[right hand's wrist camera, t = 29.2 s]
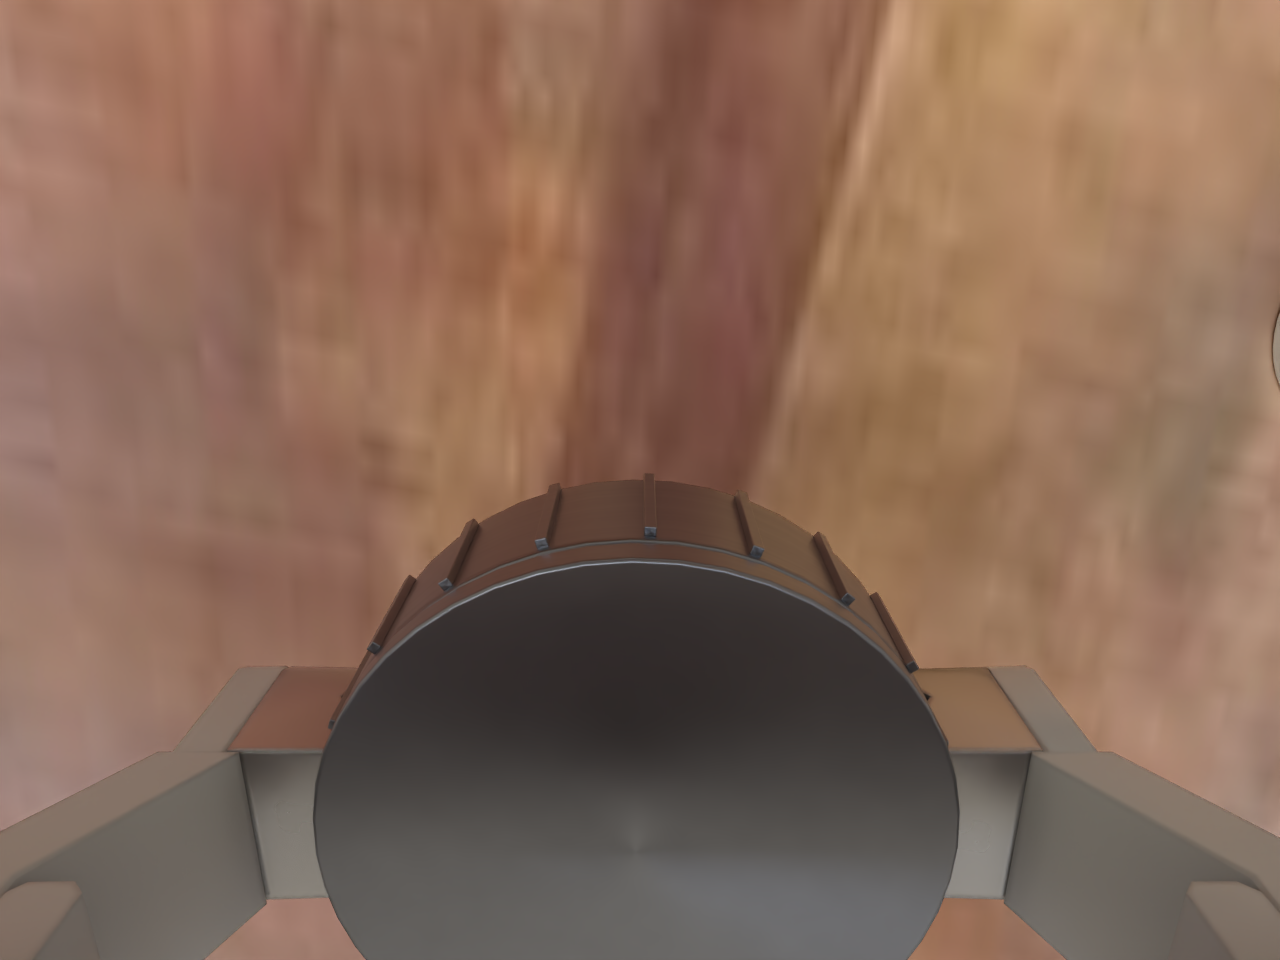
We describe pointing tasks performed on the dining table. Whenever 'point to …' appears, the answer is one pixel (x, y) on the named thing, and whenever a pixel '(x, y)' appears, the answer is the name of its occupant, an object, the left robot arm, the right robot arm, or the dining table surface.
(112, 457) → the dining table surface
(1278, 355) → the jar
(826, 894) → the lid
